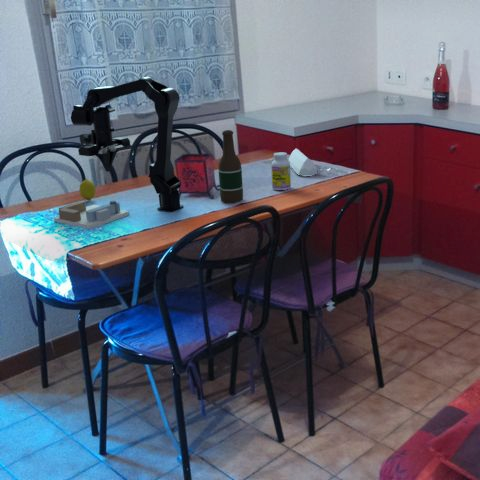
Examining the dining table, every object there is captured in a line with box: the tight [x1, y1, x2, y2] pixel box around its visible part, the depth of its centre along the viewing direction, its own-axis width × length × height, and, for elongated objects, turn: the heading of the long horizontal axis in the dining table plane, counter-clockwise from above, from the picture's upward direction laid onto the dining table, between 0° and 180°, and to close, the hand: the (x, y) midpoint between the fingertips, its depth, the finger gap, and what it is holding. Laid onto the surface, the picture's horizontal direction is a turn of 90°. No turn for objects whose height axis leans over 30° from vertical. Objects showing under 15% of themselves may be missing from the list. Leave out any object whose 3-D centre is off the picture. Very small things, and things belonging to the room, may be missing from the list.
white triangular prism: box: [287, 147, 318, 176], centre depth 270 cm, size 7×7×24 cm
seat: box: [53, 200, 130, 230], centre depth 224 cm, size 18×17×4 cm
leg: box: [86, 200, 121, 221], centre depth 221 cm, size 12×3×4 cm, turn 142°
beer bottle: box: [218, 129, 244, 204], centre depth 231 cm, size 8×8×24 cm
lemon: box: [79, 178, 97, 202], centre depth 244 cm, size 6×6×8 cm
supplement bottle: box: [270, 151, 292, 191], centre depth 244 cm, size 7×7×13 cm
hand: (107, 171), depth 235 cm, fingers closed
